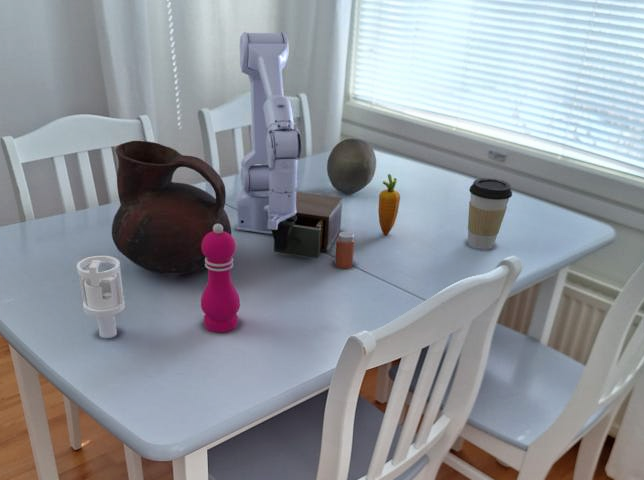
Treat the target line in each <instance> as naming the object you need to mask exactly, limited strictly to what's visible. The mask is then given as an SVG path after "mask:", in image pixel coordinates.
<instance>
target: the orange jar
mask: <svg viewBox="0 0 644 480" xmlns="http://www.w3.org/2000/svg"><path fill="white" fill-rule="evenodd" d="M335 243H336V244H335V255H334V256H335V258H334V265H335V267H336V268H339V269H350V268H352V267H353V265H354V255H355V254H354V253H355V243H356V240H355V239H354V234H353V233H352V232H350V231H340V232H339V234H338V236H337V237H336V242H335Z"/></svg>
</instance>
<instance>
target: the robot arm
mask: <svg viewBox="0 0 644 480" xmlns="http://www.w3.org/2000/svg"><path fill="white" fill-rule="evenodd" d="M289 50H290V46H289V39H288V36H287V35H286V33H285V32H283V31H282V32H246V31H243V32H242V34H241V35H240V37H239V62H240V63H239V65H240V66H239V67H240V70H241V73H243V74H245V75H247V76H248V79H249V84H250V105H251V136H252V137H251V138H252V139H251V140H252V150H251V151H250V152H249V153H247V154H246V155H244V157H243V158H242V160H241V168H240V182H241V184H240V185H241V188H242V190H241V191H240V192H239V194H238V197H237V205H236V209H237V211H236V212H237V215H236V216H237V227H236V230H238V231H245V232H251V233H256V234H257V233H259V234H264V235H270V236H272V237H273V243H274V242H275V246H276V249H278V250H286V248H287V246H288V242H289V237H290V233H291V230H292V227H293V225H294V223H295V221H296V219H297V216H295V214H296V211H297V209H296V192H297V184H298V182H297V181H298V160H300V158H301V157H302V149H303V148H302V147H303V146H302V145H303V144H302V143H303V142H302V134H301V132H300V129H298V125H297V124H295V121H294V116H293V109H292V105H291V100H290V99H288V97H286V96H285V95H284V82H283V81H284V80H283V69H284V68H285V67H286V63H287V61H288V60H289V52H290V51H289Z"/></svg>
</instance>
